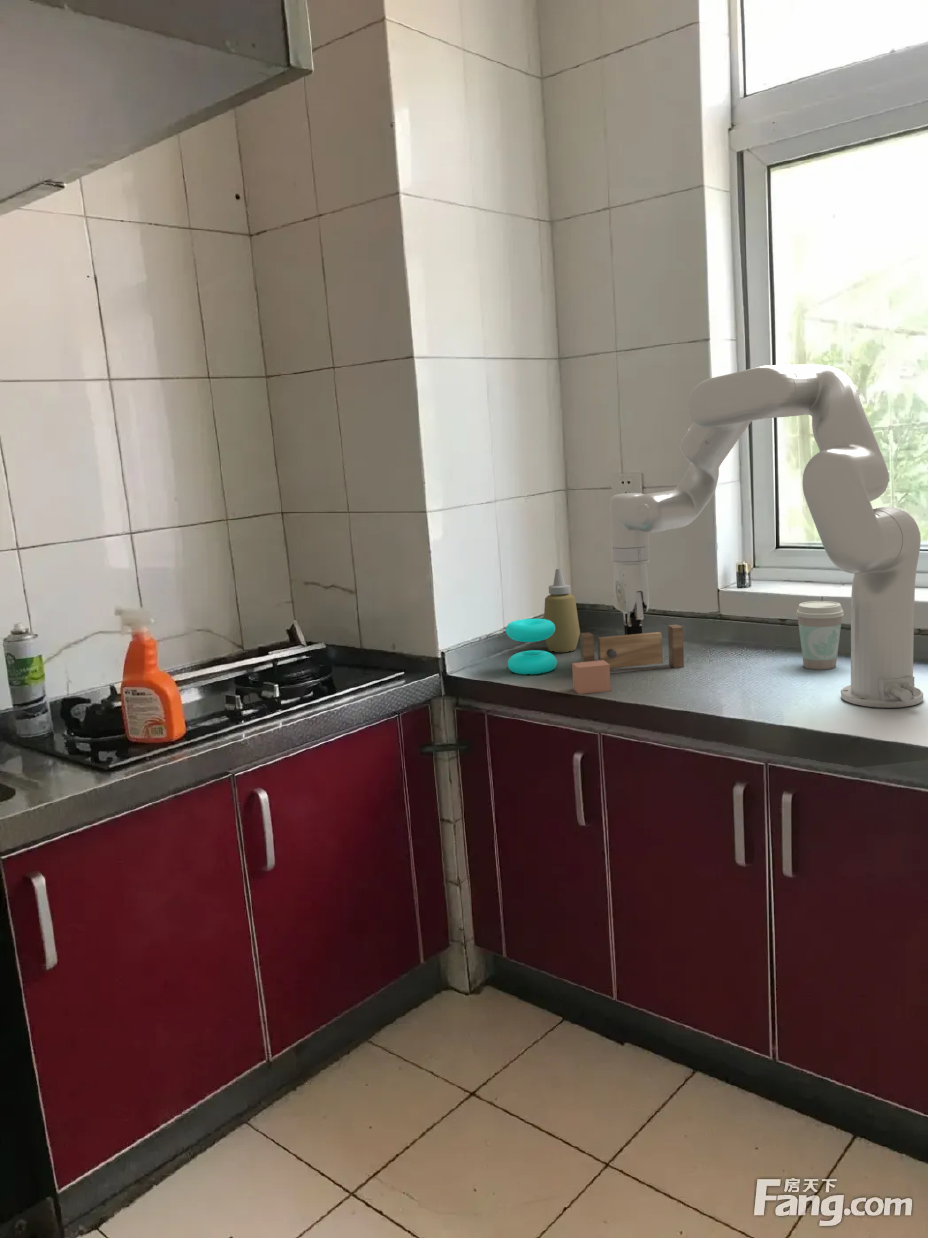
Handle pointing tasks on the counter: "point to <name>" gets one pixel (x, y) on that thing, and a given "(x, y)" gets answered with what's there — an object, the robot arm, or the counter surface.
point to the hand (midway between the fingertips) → (633, 644)
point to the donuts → (533, 658)
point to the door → (631, 649)
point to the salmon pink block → (591, 677)
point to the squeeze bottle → (561, 616)
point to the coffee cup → (819, 633)
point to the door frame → (674, 660)
